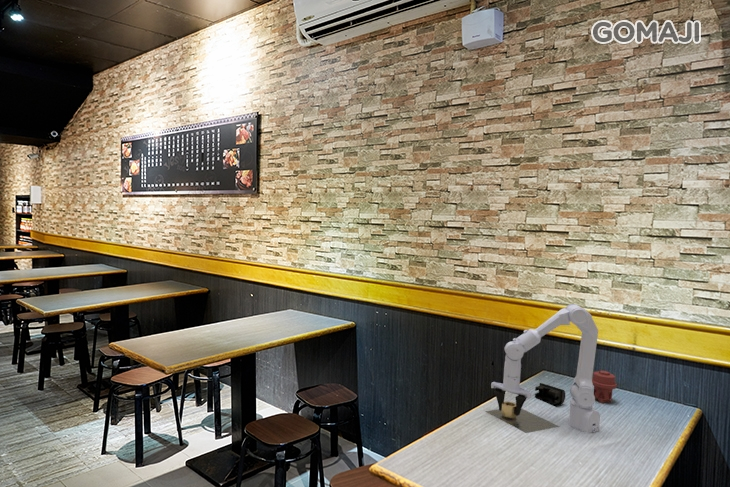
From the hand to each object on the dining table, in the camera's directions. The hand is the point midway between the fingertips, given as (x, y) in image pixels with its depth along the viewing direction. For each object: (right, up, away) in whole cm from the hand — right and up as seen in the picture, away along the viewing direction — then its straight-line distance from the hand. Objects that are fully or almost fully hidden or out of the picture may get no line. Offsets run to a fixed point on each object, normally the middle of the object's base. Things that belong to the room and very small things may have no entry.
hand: (509, 412), depth 175 cm
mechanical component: (+48, -5, +29) cm, 56 cm away
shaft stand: (+4, -3, -1) cm, 5 cm away
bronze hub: (0, -1, 0) cm, 1 cm away
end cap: (+23, -4, +23) cm, 32 cm away
